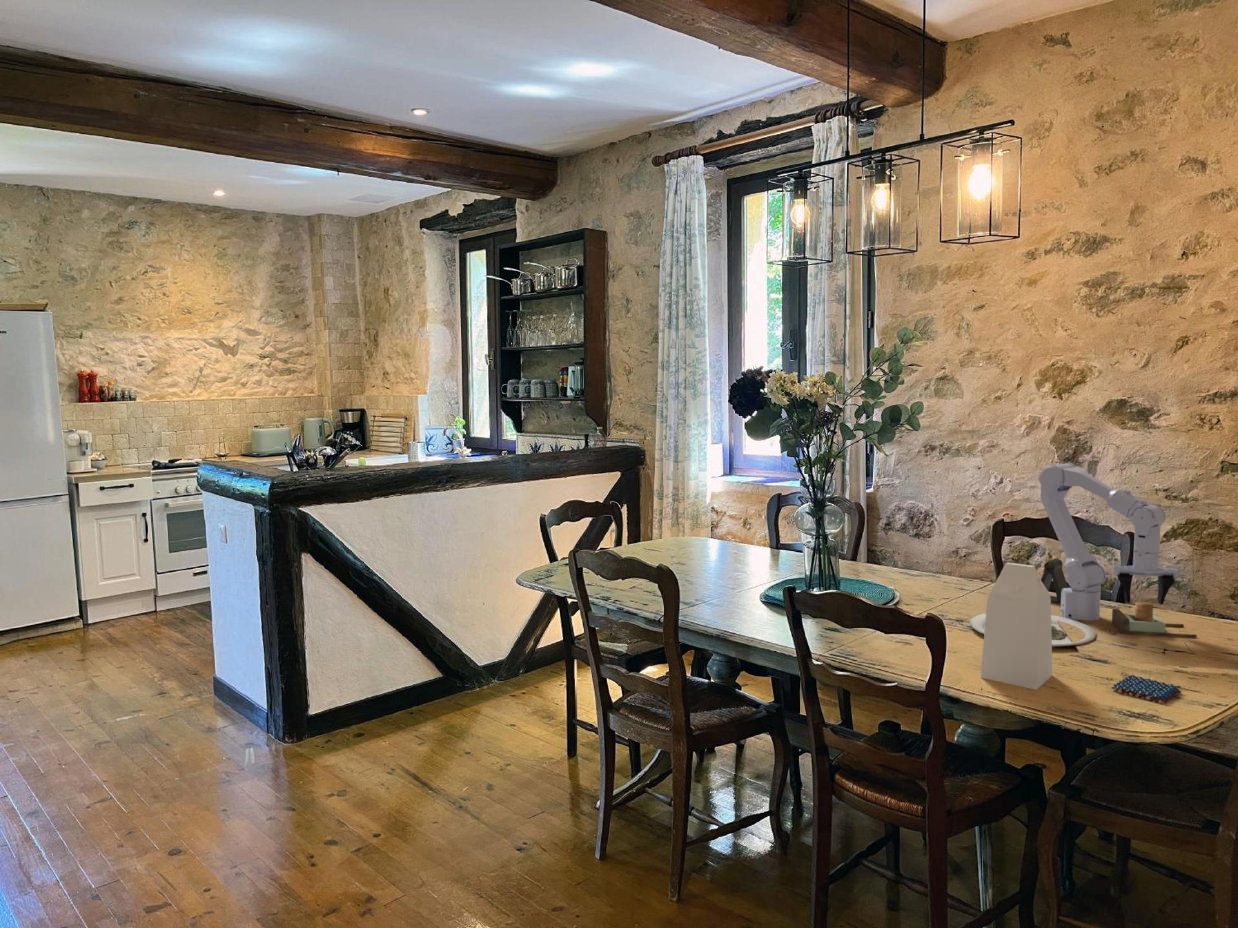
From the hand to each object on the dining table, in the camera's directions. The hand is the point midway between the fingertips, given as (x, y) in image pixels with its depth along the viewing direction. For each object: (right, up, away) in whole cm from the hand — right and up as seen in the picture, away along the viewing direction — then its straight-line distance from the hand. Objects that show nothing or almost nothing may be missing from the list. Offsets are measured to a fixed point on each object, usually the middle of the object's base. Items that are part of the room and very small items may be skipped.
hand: (1143, 602), depth 226 cm
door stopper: (-6, -5, +36) cm, 37 cm away
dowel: (0, -7, +1) cm, 7 cm away
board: (+2, -9, -3) cm, 9 cm away
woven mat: (-23, -14, -39) cm, 47 cm away
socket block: (0, -7, +1) cm, 7 cm away
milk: (-46, -13, -28) cm, 56 cm away
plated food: (-28, -9, +4) cm, 29 cm away
